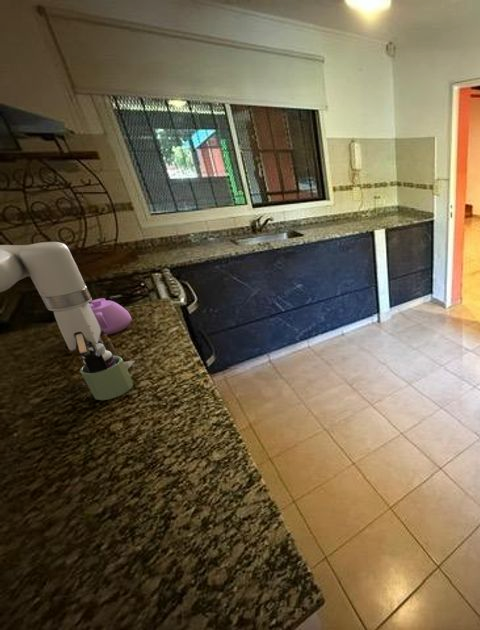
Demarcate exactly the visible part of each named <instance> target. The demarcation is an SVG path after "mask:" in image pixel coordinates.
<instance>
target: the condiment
mask: <svg viewBox="0 0 480 630" xmlns="http://www.w3.org/2000/svg"><path fill="white" fill-rule="evenodd" d="M100 330H101V329H100ZM100 337H101V339H102V341H103V343H104V344H105V347H106V349H107V351H110V352H111V353H112V355H113V356H119V355H118V353H117V351H116V349H115V347H114V344H113V342H112V340H111V339H110V338H109V337H108V335H106V334H105V332H104V330H101V332H100ZM103 343H101V344H103ZM123 362H124V364H125V366H126V368H127V370H129V369H130V368H131V367H132V365H134V363H135V362H136V360H127V361H123Z"/></svg>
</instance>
